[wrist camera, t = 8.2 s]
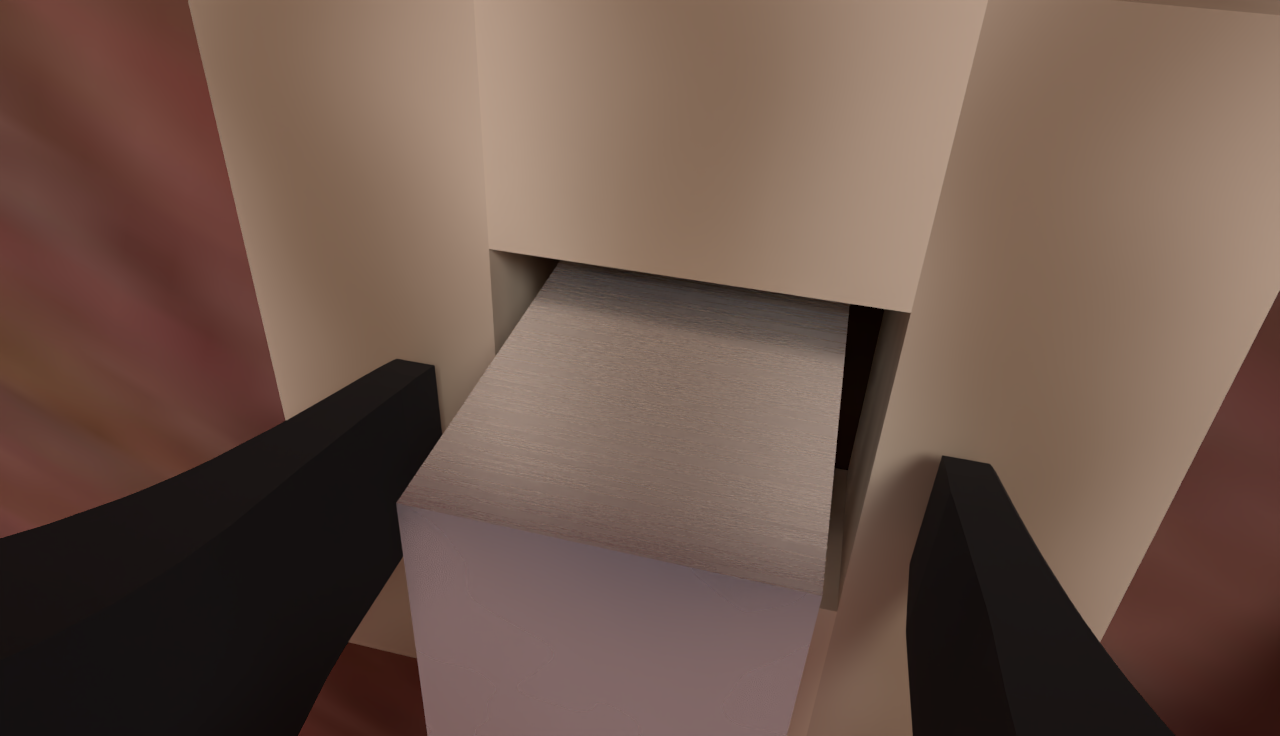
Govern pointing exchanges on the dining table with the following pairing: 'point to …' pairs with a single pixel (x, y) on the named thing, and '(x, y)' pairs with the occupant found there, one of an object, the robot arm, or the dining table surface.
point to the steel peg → (630, 514)
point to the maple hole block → (794, 234)
